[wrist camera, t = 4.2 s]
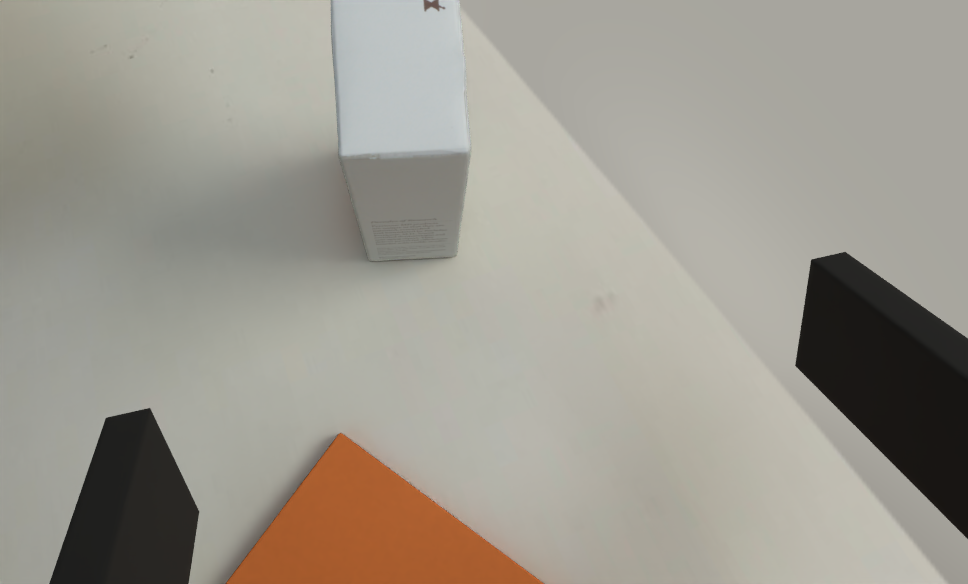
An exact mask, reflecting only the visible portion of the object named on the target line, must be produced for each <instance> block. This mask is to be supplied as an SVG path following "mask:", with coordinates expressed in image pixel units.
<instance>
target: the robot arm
mask: <svg viewBox="0 0 968 584" xmlns="http://www.w3.org/2000/svg"><path fill="white" fill-rule="evenodd" d="M795 366H796V367H797V368H798V369H799V370H800V371H801V372H802V373H803V374H804V375H805V376H806V377H807V378H808V379H809V380H810V381H811V382H812V383H813V384H814V385H815V386H816V387H817V388H818V389H819V390H820V391H821V392H822V393H823V394H824V395H825V396H826V397H827V398H828V399H829V400H830V401H831V402H832V403H833V404H834V405H835V406H836V407H837V408H838V409H839V410H840V411H841V412H842V413H843V414H844V415H845V416H846V417H847V418H848V419H849V420H850V421H851V422H852V423H853V424H854V425H855V426H856V427H857V428H858V429H859V430H860V431H861V432H862V433H863V434H864V435H865V436H866V437H867V438H868V439H869V440H870V441H871V442H872V443H873V444H874V445H875V446H876V447H877V448H878V449H879V450H880V451H881V452H882V453H883V454H884V455H885V456H886V457H887V458H888V459H889V460H890V461H891V462H892V463H893V464H894V465H895V466H896V467H897V468H898V469H899V470H900V471H901V472H902V473H903V474H904V475H905V476H906V477H907V478H908V479H909V480H910V481H911V482H912V483H913V484H914V485H915V486H916V487H917V488H918V489H919V490H920V491H921V492H922V493H923V494H924V495H925V496H926V497H927V498H928V499H929V500H930V501H931V502H932V503H933V504H934V506H936V507H937V508H938V509H939V510H940V512H941V513H942V514H943V515H944V516H946V518H947V519H948V520H949V521H950V522H951V523H952V524H953V525H954V526H956V528H957V529H958V530H959V531H960V532H962V533H963V534H964V536H965V537H966V538H967V539H968V338H966V337H965V336H963V335H962V334H961V333H959V332H958V331H956V330H955V329H953V328H952V327H950V326H949V325H948V324H946V323H945V322H944V321H942V320H941V319H939V318H938V317H936V316H935V315H934V314H932V313H931V312H929V311H928V310H927V309H925V308H924V307H922V306H921V305H919V304H918V303H917V302H915V301H914V300H912V299H911V298H910V297H908V296H907V295H905V294H904V293H903V292H901V291H900V290H898V289H897V288H895V287H894V286H893V285H891V284H890V283H888V282H887V281H886V280H884V279H883V278H881V277H880V276H878V275H877V274H876V273H874V272H873V271H871V270H870V269H868V268H867V267H866V266H864V265H863V264H861V263H860V262H859V261H857V260H856V259H854V258H853V257H851V256H850V255H849V254H847V253H846V252H843V253H839V254H835V255H830V256H825V257H821V258H817V259H812V260H811V265H810V272H809V279H808V285H807V293H806V299H805V305H804V312H803V319H802V325H801V332H800V339H799V345H798V352H797V358H796V365H795ZM198 516H199V510H198V508H197V506H196V504H195V502H194V500H193V498H192V496H191V493H190V491H189V489H188V487H187V485H186V483H185V481H184V479H183V477H182V475H181V472H180V470H179V468H178V466H177V464H176V462H175V460H174V458H173V456H172V453H171V451H170V449H169V447H168V445H167V443H166V441H165V439H164V437H163V434H162V432H161V430H160V428H159V426H158V424H157V422H156V420H155V418H154V415H153V413H152V411H151V409H150V408H148V409H144V410H139V411H135V412H130V413H126V414H121V415H117V416H112V417H108V418H106V419H105V422H104V425H103V428H102V431H101V434H100V437H99V440H98V443H97V446H96V449H95V452H94V455H93V458H92V460H91V463H90V466H89V469H88V472H87V475H86V478H85V481H84V484H83V487H82V490H81V493H80V496H79V499H78V501H77V504H76V507H75V510H74V513H73V516H72V519H71V522H70V525H69V528H68V531H67V534H66V537H65V540H64V542H63V545H62V548H61V551H60V554H59V557H58V560H57V563H56V566H55V569H54V572H53V575H52V578H51V581H50V583H49V584H188V583H189V576H190V569H191V563H192V556H193V549H194V542H195V536H196V529H197V522H198Z"/></svg>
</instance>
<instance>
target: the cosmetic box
mask: <svg viewBox="0 0 968 584" xmlns="http://www.w3.org/2000/svg"><path fill="white" fill-rule="evenodd" d="M331 36H332V54H333V67H334V80H335V96H336V113H337V131H338V147H339V149H338V153H339V159H340V162H341V166H342V170H343V173H344V176H345V180H346V183H347V187H348V191H349V194H350V197H351V201H352V205H353V208H354V212H355V215H356V219H357V222H358V225H359V229H360V232H361V236H362V239H363V243H364V246H365V249H366V253H367V256H368V259H369V260H370V261H386V260H401V259H422V258H442V257H454V256H456V255H457V250H458V243H459V235H460V227H461V220H462V214H463V207H464V200H465V193H466V186H467V179H468V170H469V162H470V155H471V137H470V125H469V113H468V101H467V88H466V61H465V55H464V44H463V34H462V23H461V12H460V2H459V0H331Z"/></svg>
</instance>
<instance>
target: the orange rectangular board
mask: <svg viewBox="0 0 968 584" xmlns="http://www.w3.org/2000/svg"><path fill="white" fill-rule="evenodd" d="M226 584H544V583H542V582H541V581H540V580H538V579H537V578H536V577H534V576H533V575H532V574H530V573H529V572H528V571H526V570H525V569H524V568H522V567H521V566H519V565H518V564H517V563H515V562H514V561H513V560H511V559H510V558H509V557H507V556H506V555H505V554H503V553H502V552H501V551H499V550H498V549H497V548H495V547H494V546H493V545H491V544H490V543H489V542H487V541H486V540H485V539H483V538H482V537H480V536H479V535H478V534H476V533H475V532H474V531H472V530H471V529H470V528H468V527H467V526H466V525H464V524H463V523H462V522H460V521H459V520H458V519H456V518H455V517H454V516H452V515H451V514H450V513H448V512H447V511H446V510H444V509H443V508H441V507H440V506H439V505H437V504H436V503H435V502H433V501H432V500H431V499H429V498H428V497H427V496H425V495H424V494H423V493H421V492H420V491H419V490H417V489H416V488H415V487H413V486H412V485H411V484H409V483H408V482H407V481H405V480H404V479H402V478H401V477H400V476H398V475H397V474H396V473H394V472H393V471H392V470H390V469H389V468H388V467H386V466H385V465H384V464H382V463H381V462H380V461H378V460H377V459H376V458H374V457H373V456H372V455H370V454H369V453H368V452H366V451H365V450H363V449H362V448H361V447H359V446H358V445H357V444H355V443H354V442H353V441H351V440H350V439H349V438H347V437H346V436H345V435H343V434H341V433H340V434H338V436H337V437H336V438H335V440H334V441H333V442H332V444H331V445H330V446H329V448H328V449H327V450H326V452H325V453H324V454H323V456H322V457H321V458H320V460H319V461H318V462H317V464H316V465H315V466H314V467H313V469H312V470H311V471H310V473H309V474H308V475H307V477H306V478H305V479H304V481H303V482H302V483H301V485H300V486H299V487H298V489H297V490H296V491H295V493H294V494H293V495H292V497H291V498H290V499H289V501H288V502H287V503H286V505H285V506H284V507H283V508H282V510H281V511H280V512H279V514H278V515H277V516H276V518H275V519H274V520H273V522H272V523H271V524H270V526H269V527H268V528H267V530H266V531H265V532H264V534H263V535H262V536H261V538H260V539H259V540H258V542H257V543H256V544H255V546H254V547H253V548H252V549H251V551H250V552H249V553H248V555H247V556H246V557H245V559H244V560H243V561H242V563H241V564H240V565H239V567H238V568H237V569H236V571H235V572H234V573H233V575H232V576H231V577H230V579H229V580H228V581H227V583H226Z"/></svg>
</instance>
